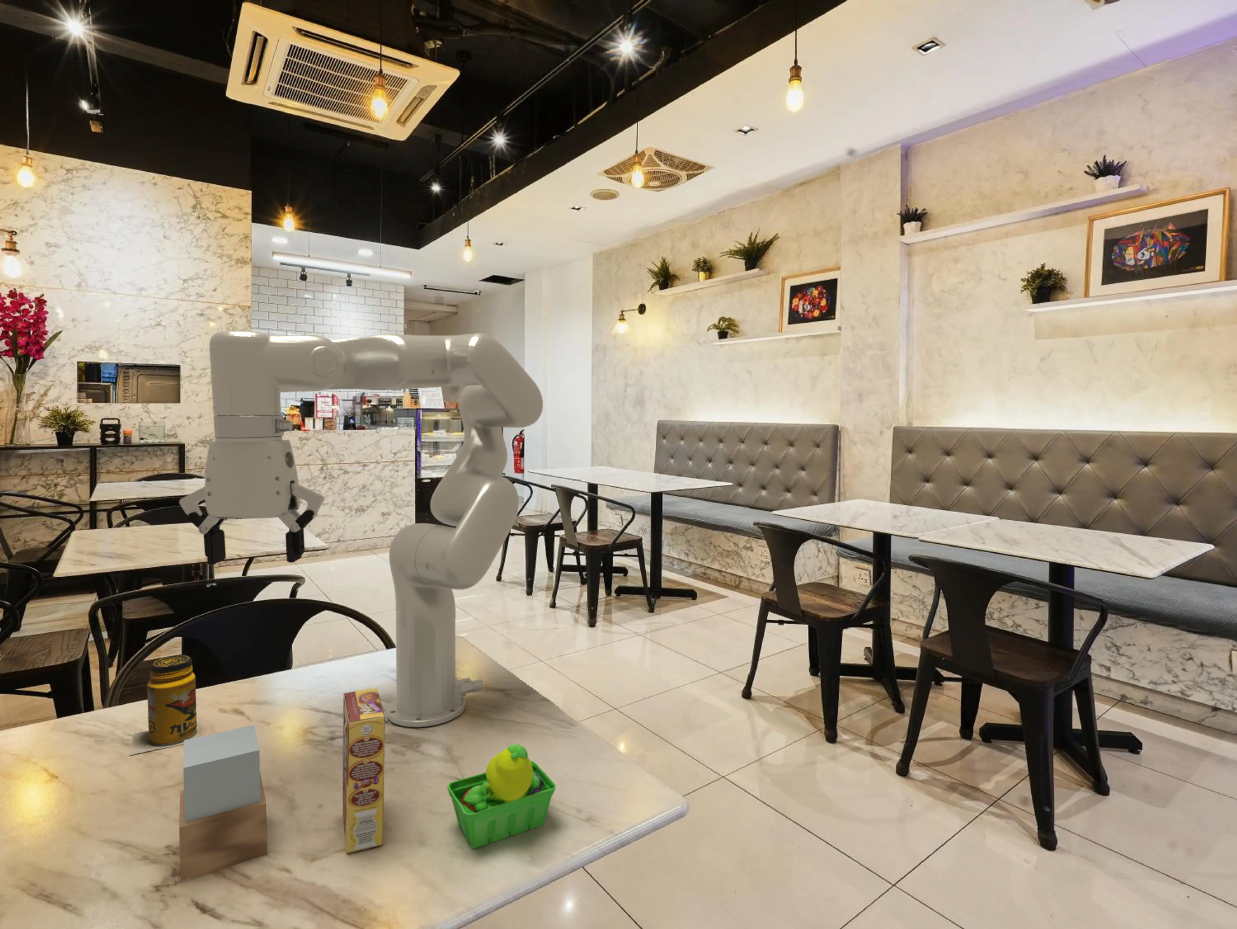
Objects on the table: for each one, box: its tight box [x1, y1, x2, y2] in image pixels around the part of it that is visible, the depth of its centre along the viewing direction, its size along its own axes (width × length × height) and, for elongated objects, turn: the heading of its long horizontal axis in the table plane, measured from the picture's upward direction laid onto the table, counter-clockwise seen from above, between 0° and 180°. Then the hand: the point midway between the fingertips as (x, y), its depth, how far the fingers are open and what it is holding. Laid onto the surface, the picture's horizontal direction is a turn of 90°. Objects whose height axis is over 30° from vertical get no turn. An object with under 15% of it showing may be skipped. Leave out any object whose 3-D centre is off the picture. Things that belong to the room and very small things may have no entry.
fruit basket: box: [446, 743, 557, 850], centre depth 76 cm, size 11×9×11 cm
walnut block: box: [178, 773, 268, 882], centre depth 73 cm, size 8×8×6 cm
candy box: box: [342, 688, 386, 854], centre depth 76 cm, size 9×4×15 cm, turn 26°
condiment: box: [129, 655, 201, 756], centre depth 97 cm, size 7×8×12 cm
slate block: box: [182, 724, 261, 823], centre depth 72 cm, size 7×7×6 cm
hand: (256, 561), depth 84 cm, fingers open, 9 cm apart
